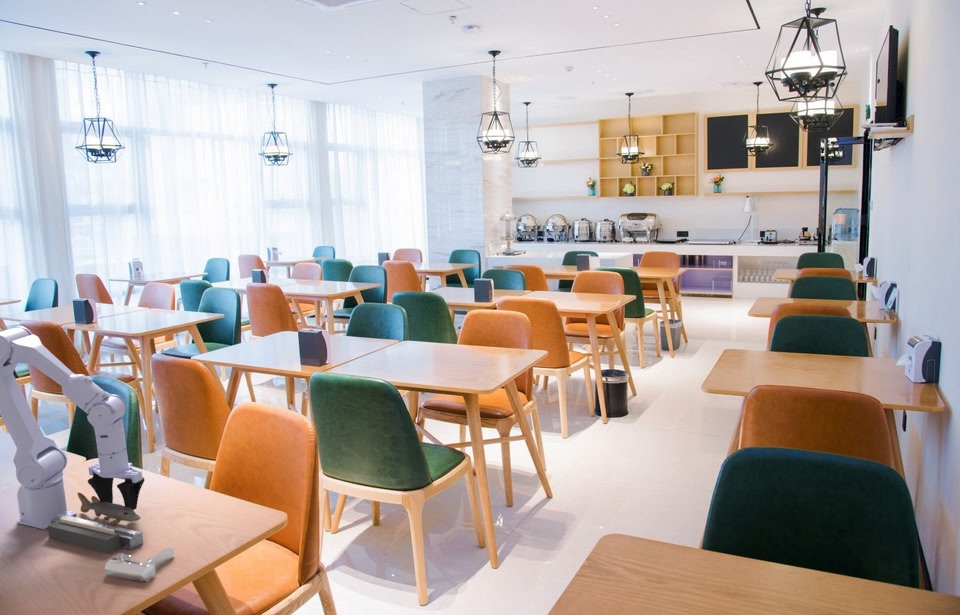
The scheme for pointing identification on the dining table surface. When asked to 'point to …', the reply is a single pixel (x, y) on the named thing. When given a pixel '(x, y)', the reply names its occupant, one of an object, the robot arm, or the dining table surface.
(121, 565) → the silver l-shaped piece
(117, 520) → the fish
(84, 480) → the dining table surface
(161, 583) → the dining table surface
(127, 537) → the rail
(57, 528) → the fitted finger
